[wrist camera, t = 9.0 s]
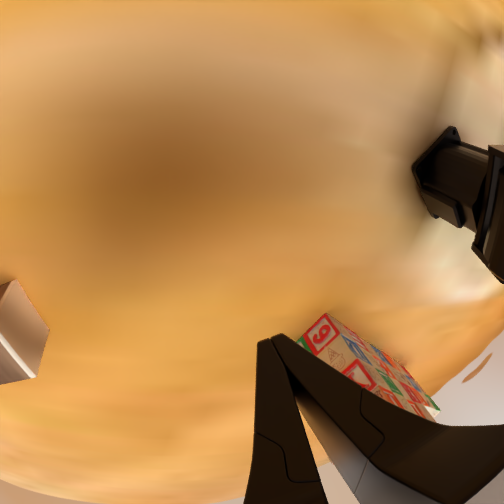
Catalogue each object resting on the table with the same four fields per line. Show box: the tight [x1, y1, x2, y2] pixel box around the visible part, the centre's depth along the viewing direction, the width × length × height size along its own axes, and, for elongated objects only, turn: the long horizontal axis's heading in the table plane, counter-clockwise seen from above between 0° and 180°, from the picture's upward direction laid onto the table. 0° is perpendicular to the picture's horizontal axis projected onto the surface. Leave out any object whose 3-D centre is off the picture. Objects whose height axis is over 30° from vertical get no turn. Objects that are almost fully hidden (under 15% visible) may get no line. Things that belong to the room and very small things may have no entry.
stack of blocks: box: [296, 313, 441, 464], centre depth 28 cm, size 21×6×12 cm, turn 47°
